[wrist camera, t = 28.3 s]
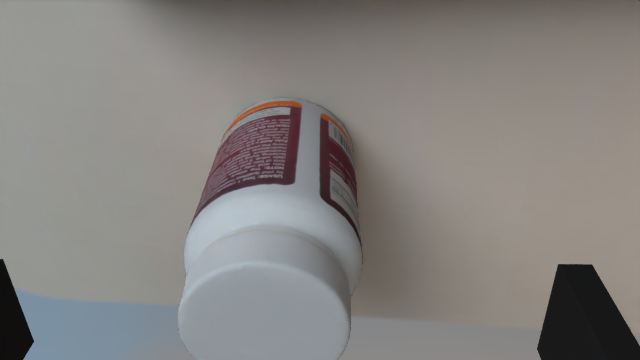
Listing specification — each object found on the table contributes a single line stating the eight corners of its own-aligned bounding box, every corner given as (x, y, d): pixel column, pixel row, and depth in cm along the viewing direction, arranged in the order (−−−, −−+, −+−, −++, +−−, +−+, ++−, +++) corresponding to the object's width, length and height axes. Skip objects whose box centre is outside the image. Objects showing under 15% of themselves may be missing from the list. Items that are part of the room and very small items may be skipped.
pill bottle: (206, 190, 21) (140, 372, 14) (242, 74, 19) (184, 221, 12) (327, 227, 22) (324, 419, 15) (376, 120, 20) (400, 286, 12)
